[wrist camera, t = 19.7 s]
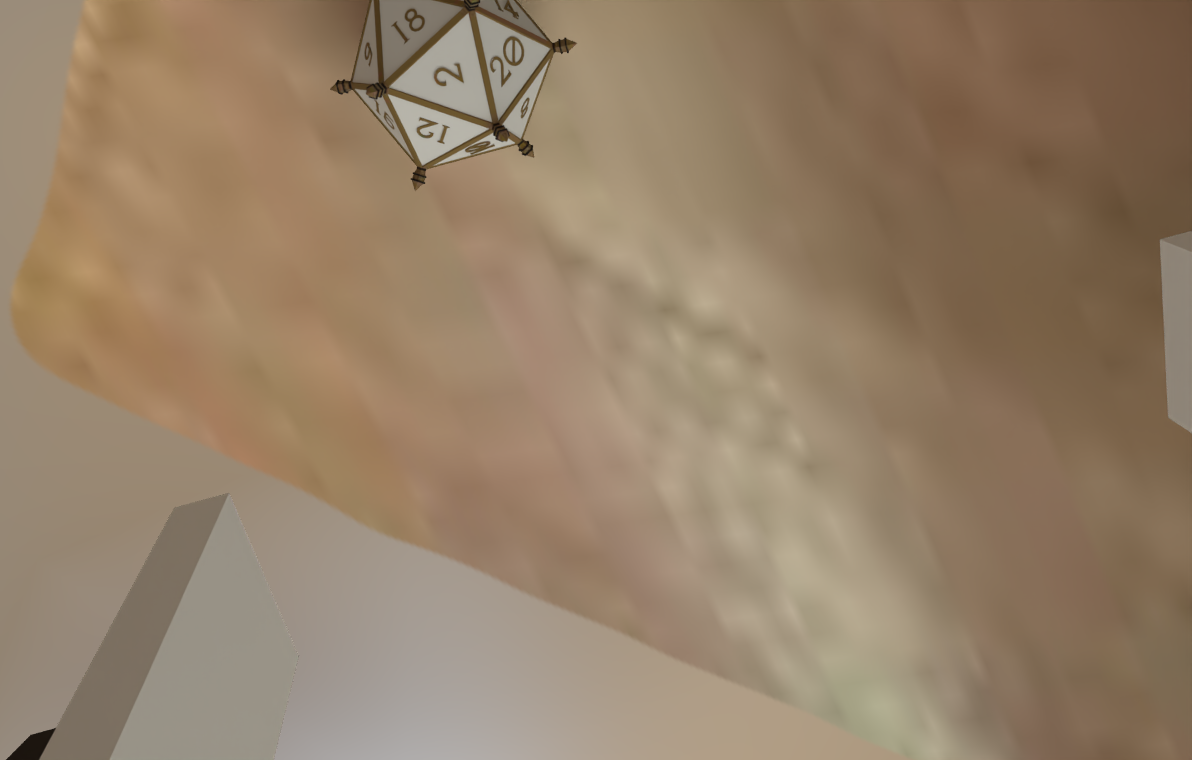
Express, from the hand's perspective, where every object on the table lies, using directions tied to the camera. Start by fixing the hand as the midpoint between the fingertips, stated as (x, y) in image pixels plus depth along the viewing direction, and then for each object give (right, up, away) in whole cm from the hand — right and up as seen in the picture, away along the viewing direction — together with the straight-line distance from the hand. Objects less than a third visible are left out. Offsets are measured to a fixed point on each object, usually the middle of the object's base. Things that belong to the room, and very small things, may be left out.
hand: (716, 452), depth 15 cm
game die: (-8, +15, +31) cm, 35 cm away
